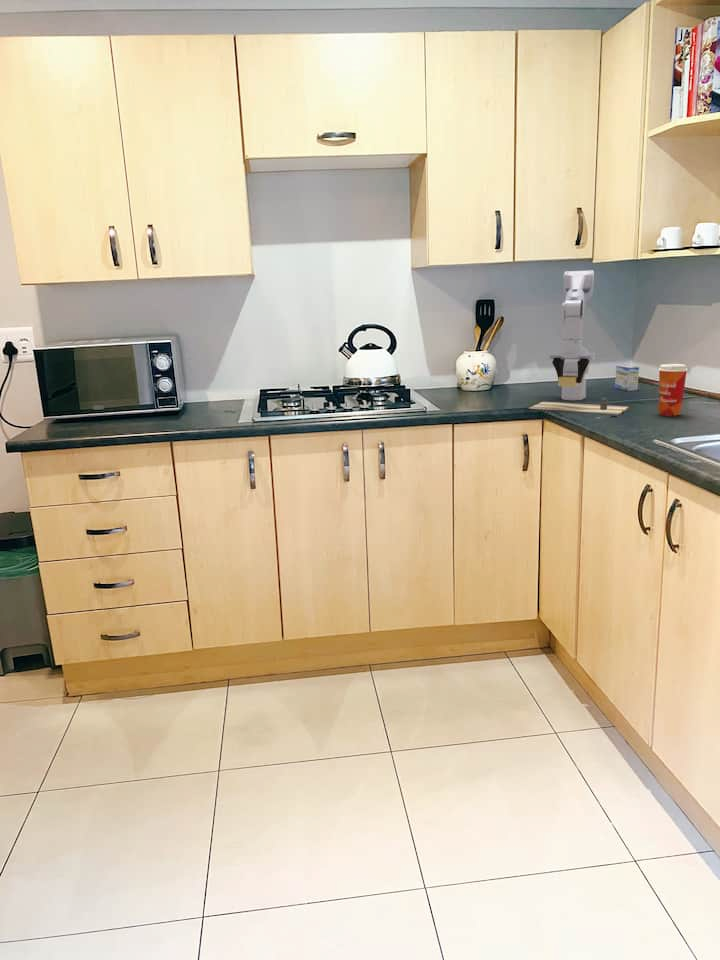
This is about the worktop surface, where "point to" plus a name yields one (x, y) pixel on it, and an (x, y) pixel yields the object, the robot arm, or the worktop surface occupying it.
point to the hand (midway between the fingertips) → (569, 382)
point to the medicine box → (626, 378)
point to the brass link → (568, 380)
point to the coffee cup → (671, 388)
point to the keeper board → (582, 407)
